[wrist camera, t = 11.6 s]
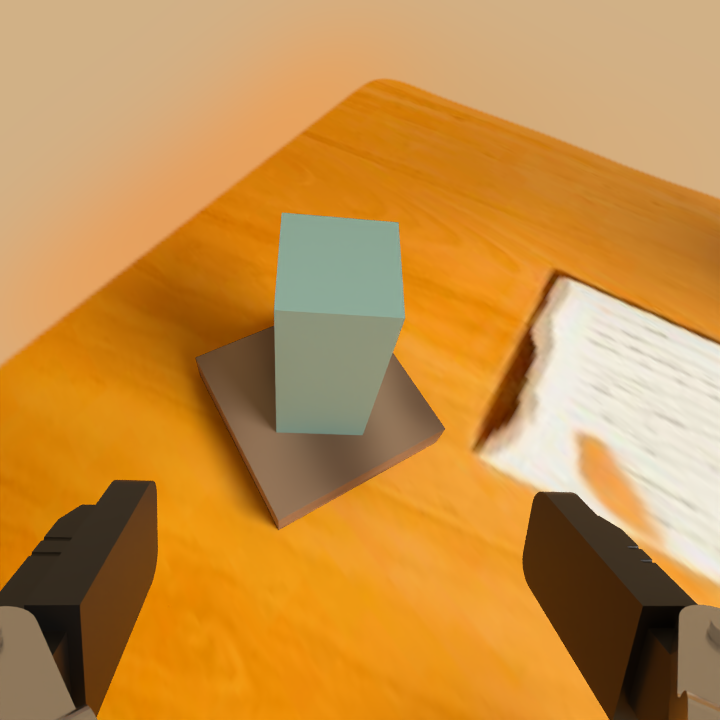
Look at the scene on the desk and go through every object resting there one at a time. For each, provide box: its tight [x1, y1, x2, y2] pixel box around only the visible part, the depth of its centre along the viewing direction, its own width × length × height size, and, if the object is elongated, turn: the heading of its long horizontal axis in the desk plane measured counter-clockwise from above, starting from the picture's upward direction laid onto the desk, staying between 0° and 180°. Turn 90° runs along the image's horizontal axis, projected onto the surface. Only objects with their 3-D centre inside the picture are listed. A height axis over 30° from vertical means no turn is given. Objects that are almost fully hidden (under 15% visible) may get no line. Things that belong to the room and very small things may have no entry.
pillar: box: [274, 213, 405, 435], centre depth 24 cm, size 4×4×11 cm
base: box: [196, 326, 445, 530], centre depth 30 cm, size 10×10×2 cm
